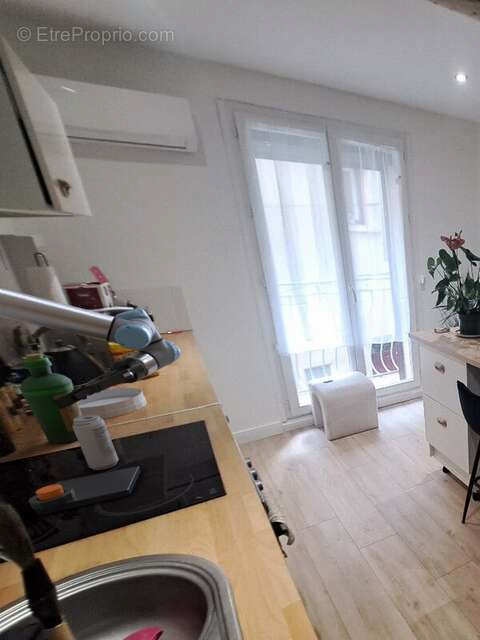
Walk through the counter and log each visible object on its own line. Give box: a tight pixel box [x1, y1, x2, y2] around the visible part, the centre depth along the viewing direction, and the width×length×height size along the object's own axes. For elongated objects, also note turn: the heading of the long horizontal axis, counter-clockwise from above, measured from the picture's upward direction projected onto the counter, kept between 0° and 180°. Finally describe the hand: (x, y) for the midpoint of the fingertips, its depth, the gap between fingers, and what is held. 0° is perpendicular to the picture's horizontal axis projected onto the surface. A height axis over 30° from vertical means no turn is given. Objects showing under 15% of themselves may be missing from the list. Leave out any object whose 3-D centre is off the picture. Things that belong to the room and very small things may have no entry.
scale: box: [28, 465, 142, 516], centre depth 104 cm, size 17×15×4 cm
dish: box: [78, 387, 147, 420], centre depth 154 cm, size 22×22×5 cm
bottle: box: [18, 353, 82, 445], centre depth 127 cm, size 11×11×28 cm
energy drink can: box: [72, 414, 120, 471], centre depth 114 cm, size 6×6×15 cm
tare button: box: [35, 483, 64, 500], centre depth 97 cm, size 4×4×2 cm
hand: (58, 404), depth 108 cm, fingers closed
